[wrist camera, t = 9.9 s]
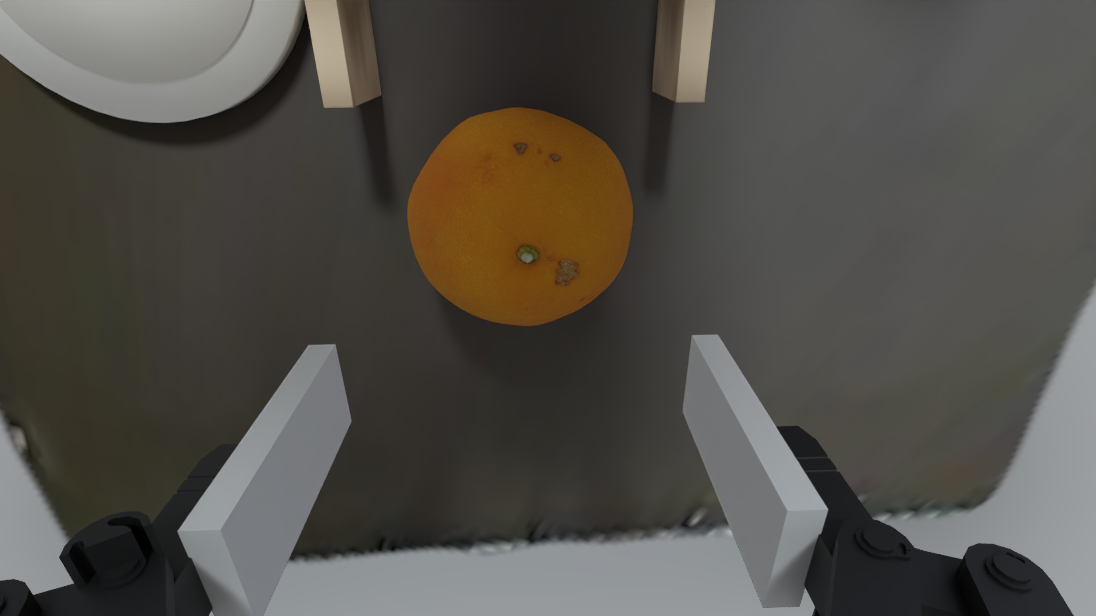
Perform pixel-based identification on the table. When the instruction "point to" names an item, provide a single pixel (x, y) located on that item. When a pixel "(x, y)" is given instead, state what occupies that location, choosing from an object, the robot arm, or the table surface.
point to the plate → (151, 52)
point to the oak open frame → (354, 70)
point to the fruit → (520, 216)
